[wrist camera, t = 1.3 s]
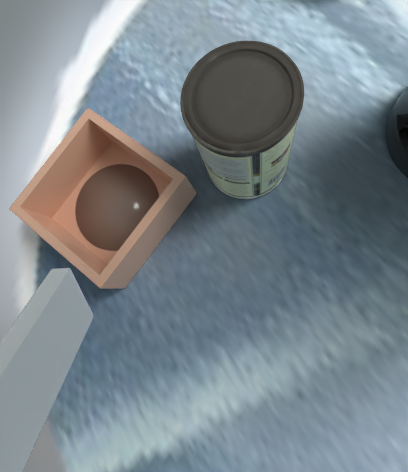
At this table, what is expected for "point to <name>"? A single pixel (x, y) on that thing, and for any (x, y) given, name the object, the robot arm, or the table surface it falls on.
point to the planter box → (103, 201)
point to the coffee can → (243, 115)
